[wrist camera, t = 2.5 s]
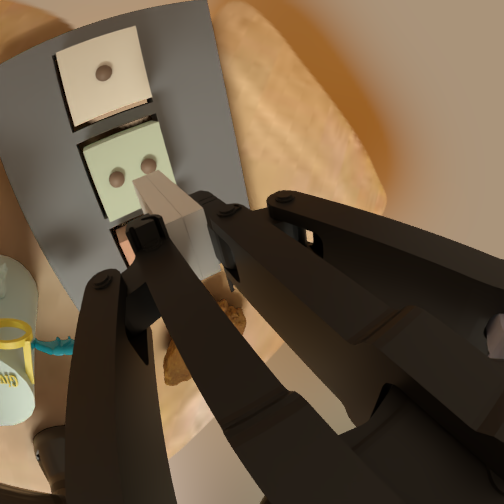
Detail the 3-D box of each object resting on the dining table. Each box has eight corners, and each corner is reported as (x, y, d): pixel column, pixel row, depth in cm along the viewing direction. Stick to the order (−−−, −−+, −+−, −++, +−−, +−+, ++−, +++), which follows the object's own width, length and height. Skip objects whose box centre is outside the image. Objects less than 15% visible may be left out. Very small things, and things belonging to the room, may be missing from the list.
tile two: (107, 210, 24) (110, 223, 21) (83, 147, 20) (83, 152, 18) (169, 183, 26) (179, 193, 23) (150, 120, 22) (159, 122, 20)
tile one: (76, 124, 19) (74, 126, 17) (59, 59, 16) (55, 52, 13) (145, 98, 21) (153, 97, 19) (129, 34, 18) (136, 24, 15)
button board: (87, 312, 29) (89, 326, 27) (-13, 79, 14) (-22, 77, 12) (246, 236, 35) (257, 245, 33) (196, 6, 20) (206, -1, 19)
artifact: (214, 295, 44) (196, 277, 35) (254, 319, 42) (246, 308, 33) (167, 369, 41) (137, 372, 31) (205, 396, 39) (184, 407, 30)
